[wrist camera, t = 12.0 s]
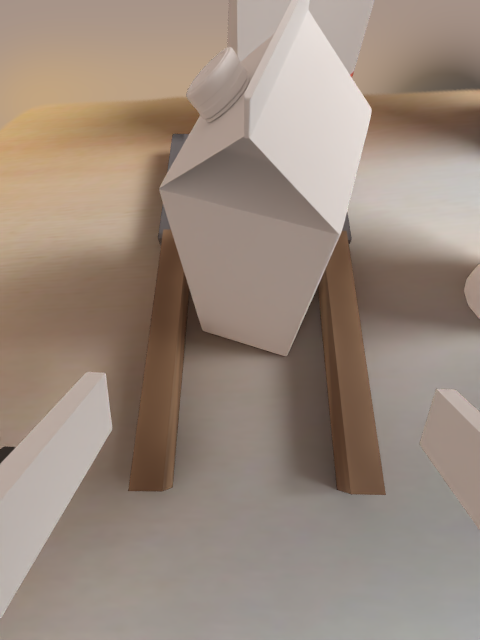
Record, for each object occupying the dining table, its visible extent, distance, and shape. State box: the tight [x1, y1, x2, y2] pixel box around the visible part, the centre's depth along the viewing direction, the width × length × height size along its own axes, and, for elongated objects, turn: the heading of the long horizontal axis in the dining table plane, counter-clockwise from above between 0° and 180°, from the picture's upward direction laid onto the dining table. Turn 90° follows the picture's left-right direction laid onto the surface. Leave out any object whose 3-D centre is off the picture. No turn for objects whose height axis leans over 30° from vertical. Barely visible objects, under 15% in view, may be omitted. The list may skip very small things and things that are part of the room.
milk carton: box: [159, 0, 372, 356], centre depth 18 cm, size 7×7×19 cm
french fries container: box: [227, 0, 374, 77], centre depth 27 cm, size 5×11×18 cm, turn 105°
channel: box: [128, 229, 386, 495], centre depth 24 cm, size 15×19×3 cm
